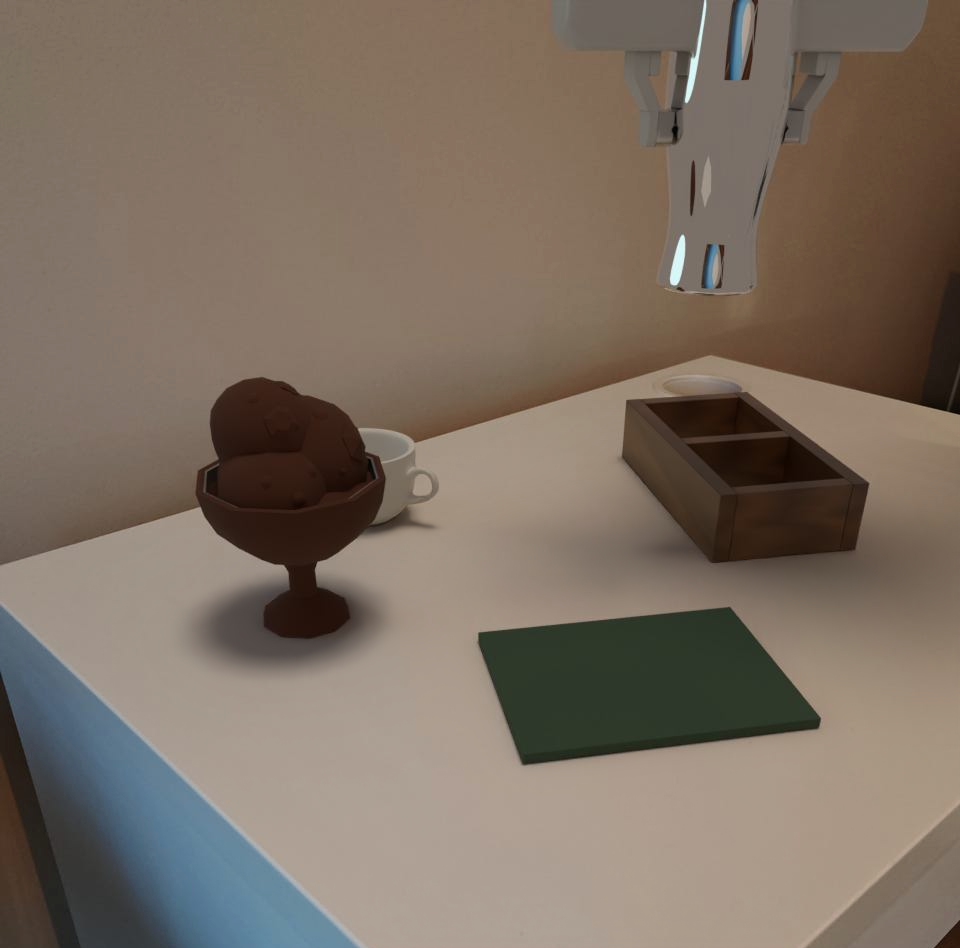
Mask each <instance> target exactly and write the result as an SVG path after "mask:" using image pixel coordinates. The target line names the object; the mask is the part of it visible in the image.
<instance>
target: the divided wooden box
mask: <svg viewBox="0 0 960 948" xmlns="http://www.w3.org/2000/svg"><path fill="white" fill-rule="evenodd" d="M624 411H625V412H624V425H623V426H624V427H623V436H622V437H623V438H622V448H621V449H622V452H621V457H622V458H623V460H624V461H625V462H626V463H627V464H628V466H629V467H630V468H631V470H633V472H634V473H635V474H636V475H637V476H638V477H639V478H640V479H641V481H642V482H643V483H644V485H646V486H647V488H648V489H649V490H650V491H651V493H652V494H653V495H654V496H655V497H656V498H657V499H658V501H659V502H660V503H661V504H662V506H664V508H665V509H666V510H667V511H668V513H669V514H670V515H671V516H672V518H674V520H675V521H676V523H678V524H679V526H680V527H681V528H682V529H683V530H684V531H685V532H686V533H687V535H688V536H689V537H690V538H691V540H692V541H693V542H694V543H695V544H696V545H697V547H698V548H699V549H700V550H701V551H702V553H703V554H704V555H705V556H706V557H707V558H708V559H709V561H710V562H711V563H721V562H729V561H730V562H732V561H740V560H741V561H742V560H752V559H764V558H774V557H784V556H785V557H786V556H796V555H805V554H816V553H825V552H826V553H827V552H837V551H850V550H851V551H852V550H856V547H857V543H858V539H859V534H860V530H861V524H862V521H863V516H864V510H865V507H866V501H867V497H868V492H869V489H870V488H869V487H870V482H869V481H867V479H865V478H863V477H862V476H861V475H859V473H857V472H855V470H853V469H852V468H850V467H848V465H846V464H845V463H843V462H842V461H840V460H839V459H838V458H837V457H835V456H834V455H833V454H831V453H830V452H829V451H827V450H826V449H825V448H823V447H822V446H820V445H819V444H818V443H816V441H813V439H811V438H810V437H808V436H807V435H805V434H804V433H803V432H802V431H800V430H799V429H798V428H796V427H795V426H794V425H793V424H791V423H790V422H788V421H787V420H786V419H784V418H783V417H781V416H780V415H779V414H777V413H776V412H775V411H773V410H772V409H771V408H770V407H768V406H766V405H765V404H764V403H763V402H761V401H760V400H759V399H758V398H757V397H755V396H753V395H752V394H751V393H749V392H748V391H740V392H739V391H738V392H725V393H711V394H710V393H709V394H694V395H680V396H665V397H664V396H663V397H651V398H650V397H647V398H634V399H626V400H625V410H624Z"/></svg>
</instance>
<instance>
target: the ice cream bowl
mask: <svg viewBox="0 0 960 948" xmlns="http://www.w3.org/2000/svg"><path fill="white" fill-rule="evenodd" d="M209 414H210V415H209V416H210V417H209V429H210V437H211V442H212V445H213V448H214V452H215V455H216V457H217V458H218V459H216V460H214V461H213V462H211V463H208V464H207V465H205V466H204V467H201V468H199V469H198V470H197V472H196V473H197V475H196V483H195V484H196V485H195V493H194V495H195V496H196V499H197V502H198V504H199V507H200V509H201V512H202V515H203V517H204V518H205V519H206V521H207V522H208V524H209V525H210V526H211V528H212V529H213V531H214V532H215V533H216V535H217V536H219V537H220V538H222V539H224V540H225V541H227V543H230V544H231V545H232V546H234V547H236V548H237V549H239V550H240V551H242V552H245V553H247V554H249V555H251V556H253V557H254V558H256V559H258V560H261V561H263V562H266V563H269V564H272V565H275V566H284V568H285V569H286V572H287V574H288V585H289V589H288V590H286V591H283V592H281V593H279V594H278V595H277V596H275V597H274V598H272V599H271V600H270V601H269V602H268V603H266V604H265V605H264V608H263V615H262V617H263V627H264V628H265V629H266V630H269V631H271V632H272V633H274V634H276V635H277V636H279V637H282V638H298V639H299V638H300V639H311V638H316V637H319V636H322V635H327V634H330V633H332V632H336V631H338V630H339V629H340V628H341V627H342V626H343V625H344V624H345V623H346V622H347V621H348V620H350V619H351V615H350V610H349V604H348V602H347V600H346V597H344V596H342V595H340V594H339V593H337V592H334V591H332V590H330V589H329V588H328V589H327V588H324V587H320V586H318V581H317V575H316V569H317V566H318V563H319V562H323V561H328V560H329V559H330V558H332V557H333V556H335V555H337V554H338V553H340V552H341V551H343V550H344V549H345V548H347V546H349V545H350V544H352V543H353V542H354V541H355V540H357V539H358V538H359V537H360V536H361V535H362V533H364V531H366V529H367V528H368V527H370V526H371V525H370V524H371V523H372V522H373V521H374V520H375V518H376V516H377V513H378V511H379V509H380V506H381V504H382V502H383V495H384V489H385V482H386V476H385V473H384V470H383V467H382V464H381V461H380V458H379V456H376V455H373V454H371V453H368V452H365V447H366V446H365V444H364V442H363V440H362V437H361V435H360V433H359V431H358V428H359V427H357V426H356V425H355V424H354V422H353V420H352V419H351V417H350V416H349V414H348V413H346V412H345V411H344V410H342V408H340V407H339V406H338V405H336V404H335V403H332V402H330V401H327V400H324V399H320V398H318V397H315V396H312V395H309V394H308V395H307V394H306V395H305V394H301V393H300V392H299V391H297V390H296V388H295V387H294V386H292V385H291V384H289V383H287V382H285V381H283V380H273V379H270V378H267V377H263V376H260V377H251V378H245V379H242V380H240V381H238V382H236V383H234V384H232V385H230V386H228V387H226V388H225V389H224V390H223V392H222V393H221V394H220V395H218V397H217V399H216V400H215V402H214V404H213V406H212V407H211V409H210V413H209Z"/></svg>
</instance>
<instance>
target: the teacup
mask: <svg viewBox="0 0 960 948" xmlns="http://www.w3.org/2000/svg"><path fill="white" fill-rule="evenodd" d="M357 428H358V431H359V433H360V435H361V437H362V440H363V442H364V444H365V446H366V447H365V452H368V453H371V454H373V455H376V456H379V458H380V461H381V464H382V467H383V470H384V473H385V476H386V482H385V489H384V495H383V502H382V504H381V506H380V509H379V511H378V513H377V516H376V518H375V520H374V521H373V522H372V523H371V524H370V525H369V526H376V525H380V524H383V523H386V522H389V521H390V520H392V519H394V518H395V517H397V516H398V515H399V514H400V513H402V512H403V511H404V510H405V508H406V507H407V506H411V505H412V506H413V505H418V504H419V505H420V504H423V503H425V502H429V501H430V500H431V499H433V498H434V497H436V496H437V494H438V492H439V488H440V482H439V480H438V476H437V475H436V473H435V472H434V471H433V470H432V469H431V468H429V467H426V466H425V465H424V466H423V465H418V466H416V442H415V441H414V439H412V438H411V437H410V436H408V435H406V434H404V433H402V432H399V431H395V430H390V429H384V428H375V427H357ZM419 475H425V476H427V477H428V478H429V480H430V482H431V491H430V492H429V493H428V494H425V495H416V494H414V488H415V481H416V480H415V479H416V478H417V477H418V476H419Z"/></svg>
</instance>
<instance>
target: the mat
mask: <svg viewBox="0 0 960 948" xmlns="http://www.w3.org/2000/svg"><path fill="white" fill-rule="evenodd" d="M477 633H478V634H477V640H478V644H479V647H480V649H481V652H482V656H483V658H484V660H485V663H486V667H487V669H488V671H489V674H490V677H491V679H492V683H493V685H494V687H495V690H496V693H497V696H498V699H499V702H500V704H501V707H502V710H503V713H504V715H505V718H506V721H507V723H508V726H509V730H510V733H511V735H512V738H513V740H514V743H515V746H516V749H517V751H518V754H519V756H520V757H519V758H520V760H521V762H522V764H533V763H540V762H549V761H557V760H565V759H572V758H581V757H582V758H583V757H589V756H598V755H606V754H614V753H620V752H629V751H636V750H644V749H654V748H662V747H670V746H677V745H679V746H680V745H685V744H694V743H702V742H710V741H711V742H712V741H719V740H726V739H727V740H728V739H734V738H742V737H750V736H758V735H768V734H774V733H784V732H792V731H800V730H808V729H816V728H820V725H821V720H822V717H821V716H820V715H819V714H818V712H817V711H816V710H815V709H814V707H813V706H812V705H811V704H810V702H809V701H808V700H807V698H806V697H805V696H804V695H803V694H802V693H801V692H800V690H799V689H798V687H796V686H795V685H794V683H793V682H792V681H791V679H790V678H789V677H788V676H787V674H786V673H785V672H784V671H783V670H782V668H781V667H780V666H779V665H778V663H776V661H775V660H774V658H773V657H772V656H771V655H770V654H769V652H768V651H767V650H766V649H765V647H764V646H763V645H762V643H760V641H759V640H758V639H757V637H756V636H754V634H753V632H752V631H751V630H750V629H749V628H748V627H747V626H746V624H745V623H744V622H743V620H742V619H741V618H740V616H738V614H737V613H736V612H735V611H734V610H733V609H732V607H731V606H725V607H716V608H705V609H694V610H685V611H675V612H665V613H656V614H646V615H636V616H627V617H617V618H607V619H597V620H586V621H577V622H576V621H575V622H567V623H558V624H550V625H549V624H546V625H538V626H529V627H528V626H527V627H518V628H508V629H500V630H499V629H497V630H488V631H480V632H477Z"/></svg>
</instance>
